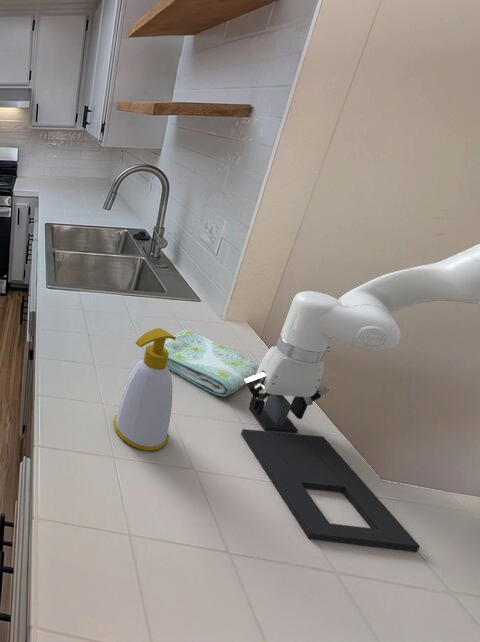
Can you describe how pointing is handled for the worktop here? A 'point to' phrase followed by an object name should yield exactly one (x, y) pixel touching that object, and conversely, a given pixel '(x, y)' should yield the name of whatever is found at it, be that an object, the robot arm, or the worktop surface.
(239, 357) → the towel
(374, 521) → the big pad
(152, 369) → the soap bottle
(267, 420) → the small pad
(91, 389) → the worktop surface
